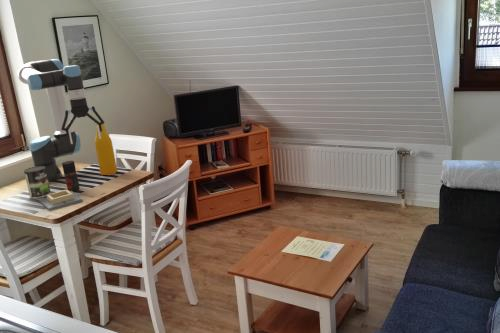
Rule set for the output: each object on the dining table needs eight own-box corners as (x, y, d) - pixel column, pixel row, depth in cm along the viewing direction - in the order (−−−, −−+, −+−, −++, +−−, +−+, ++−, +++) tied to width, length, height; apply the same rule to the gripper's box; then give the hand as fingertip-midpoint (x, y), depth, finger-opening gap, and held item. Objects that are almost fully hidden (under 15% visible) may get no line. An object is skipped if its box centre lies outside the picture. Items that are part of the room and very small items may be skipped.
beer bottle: (117, 169, 296) (108, 120, 288) (117, 174, 288) (108, 123, 279) (100, 172, 294) (90, 122, 286) (100, 177, 286) (90, 125, 277)
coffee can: (55, 192, 266) (49, 166, 262) (38, 199, 258) (32, 172, 254) (42, 190, 272) (36, 165, 268) (25, 197, 264) (19, 171, 260)
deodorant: (81, 189, 267) (76, 161, 263) (71, 192, 263) (65, 164, 259) (76, 187, 271) (70, 160, 267) (65, 191, 267) (59, 163, 263)
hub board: (39, 201, 255) (38, 194, 254) (72, 192, 263) (70, 186, 262) (48, 210, 240) (47, 203, 239) (82, 201, 248) (81, 193, 247)
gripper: (50, 103, 241) (59, 147, 247) (104, 95, 249) (112, 137, 256) (50, 101, 248) (59, 144, 254) (103, 93, 256) (110, 135, 262)
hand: (86, 140), depth 255 cm, fingers open, 13 cm apart
